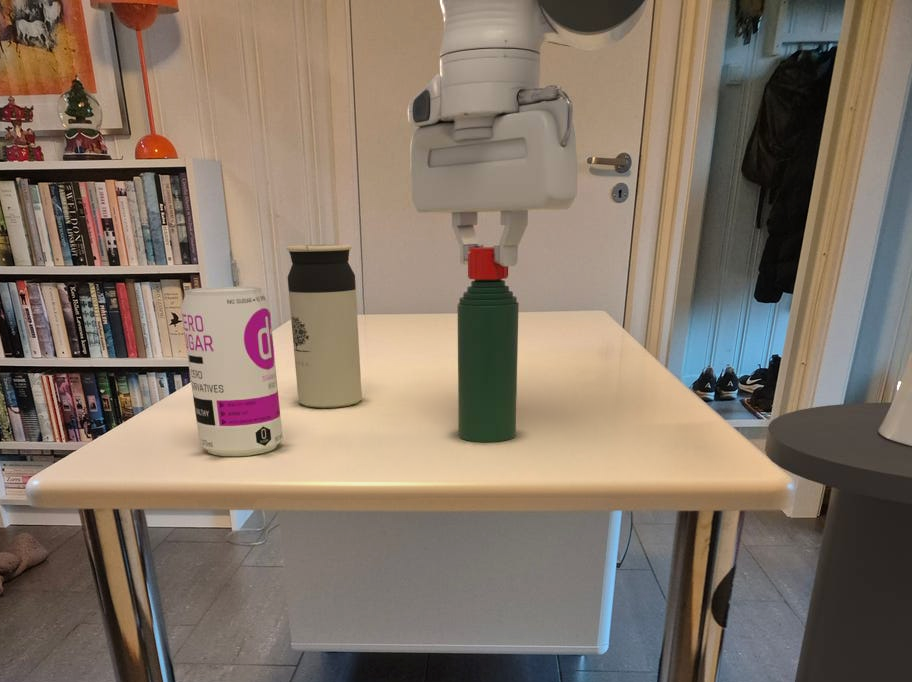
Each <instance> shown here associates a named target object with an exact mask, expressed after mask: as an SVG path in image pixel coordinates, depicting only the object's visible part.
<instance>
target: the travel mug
mask: <svg viewBox="0 0 912 682" xmlns="http://www.w3.org/2000/svg"><path fill="white" fill-rule="evenodd" d="M351 249H352V245H351V244H343V243H341V244H340V243H339V244H334V243H333V244H332V243H331V244H303V245H302V244H301V245H288V246H287V247H286V251H288V252H289V255H290V261H291V263H292V264H291V267H290V269H289V272H288V275H287V289H288V299H289V310H290V321H291V332H292V345H293V354H294V366H295V367H294V368H295V377H296V388H297V399H298V403H300V404H302V405H303V406H306V407H309V408H313V409H314V408H315V409H319V408H320V409H334V408H343V407H349V406H352V405H353V406H354V405H356V404H358V403H359V402H360V401H362V400H363V392H362V376H361V357H360V342H359V341H360V340H359V339H360V338H359V322H358V305H357V304H358V303H357V287H356V284H357V283H356V274H355V272H354V271H353V269H352V267H351V265H350V263H349V260H350V251H351Z"/></svg>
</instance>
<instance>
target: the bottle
mask: <svg viewBox="0 0 912 682" xmlns="http://www.w3.org/2000/svg"><path fill="white" fill-rule="evenodd" d="M517 300H518V298H517V296H515V295H514V292H513V291H512V290H510V286H509V285H506V280H505V279H493V280H475V279H474V280H471V282H470V285H469V286H467V287H466V291H464V292H463V293H462V296H461V297H459V302H458V303H457V306H456V307H457V409H458V411H457V412H458V413H457V416H458V417H457V419H458V420H457V421H458V432H457V433H458V437H459V438H460V439H462V440H464V441H468V442H475V443H477V442H478V443H498V442H505V441H509V440H511V439H514V438H515V437H516V434H517V398H518V396H517V395H518V354H519V353H518V351H519V350H518V349H519V347H518V345H519V309H520V308H519V307H520V306H519V302H518V301H517Z"/></svg>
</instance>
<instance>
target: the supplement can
mask: <svg viewBox="0 0 912 682" xmlns="http://www.w3.org/2000/svg"><path fill="white" fill-rule="evenodd" d="M180 313H181V315H180V316H181V322H182V328H183V329H182V330H183V336H184V342H185V349H186V356H187V362H188V363H187V364H188V369H189V370H188V371H189V378H190V384H191V392H192V398H193V406H194V413H195V420H196V426H197V434H198V440H199V445H200V447H202V448H204V449H205V450H206V451H207V453H208V454H210V455H213V456H219V457H220V456H221V457H246V456H247V457H248V456H255V455H260V454H265V453H268V452H271V451H273V450H275V449H277V447H278V445H279V444H280V443H281V442H282V440H283V429H282V428H283V427H282V418H281V408H280V397H279V387H278V378H277V368H276V358H275V357H276V356H275V347H274V336H273V327H272V326H273V325H272V317H271V307H270V303H269V301H268V300H267V298H266V297H265V295H264V293H263V292H262V287H261V286H248V285H247V286H244V285H243V286H242V285H241V286H239V285H238V286H236V285H235V286H213V287H212V286H211V287H198V288H197V287H196V288H189V289H186V290H184V298H183V299H182V302H181V306H180Z"/></svg>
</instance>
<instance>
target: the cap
mask: <svg viewBox="0 0 912 682" xmlns="http://www.w3.org/2000/svg"><path fill="white" fill-rule="evenodd" d="M493 258H494V254H493V246H483V247H476V248H469V254H468V265H467V277H468V280H474V281H475V280H493V279H502V280H505V279H508V277H509V266H495V265H494V262H493Z"/></svg>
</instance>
